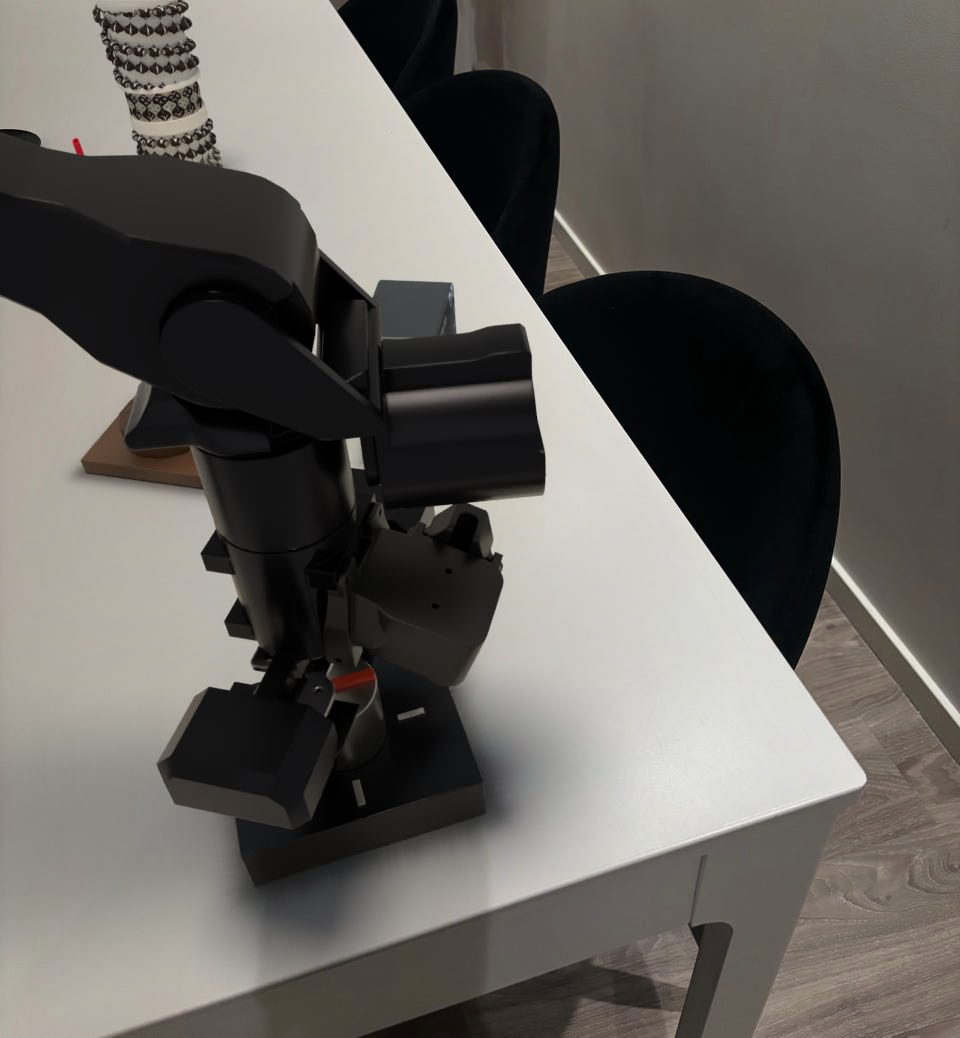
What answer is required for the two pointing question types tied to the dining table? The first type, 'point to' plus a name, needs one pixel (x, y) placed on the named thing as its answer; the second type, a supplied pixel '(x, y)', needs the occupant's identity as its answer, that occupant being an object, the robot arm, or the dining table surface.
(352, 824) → the panel
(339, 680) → the knob
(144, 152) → the decorative candle
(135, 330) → the robot arm
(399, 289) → the box
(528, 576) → the dining table surface
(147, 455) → the button block
